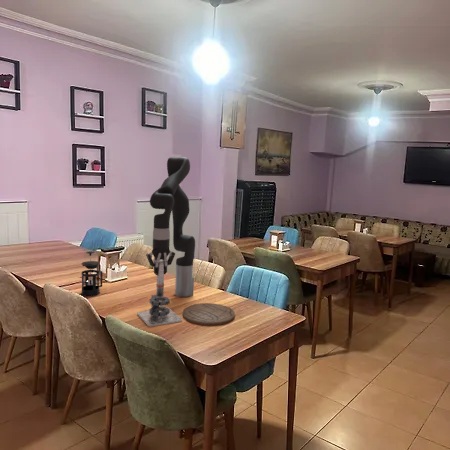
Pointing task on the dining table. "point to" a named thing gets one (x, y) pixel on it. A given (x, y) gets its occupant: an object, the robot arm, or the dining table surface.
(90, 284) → the french press
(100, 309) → the dining table surface
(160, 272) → the tube
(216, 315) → the trivet
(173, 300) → the dining table surface
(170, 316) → the collar stand
